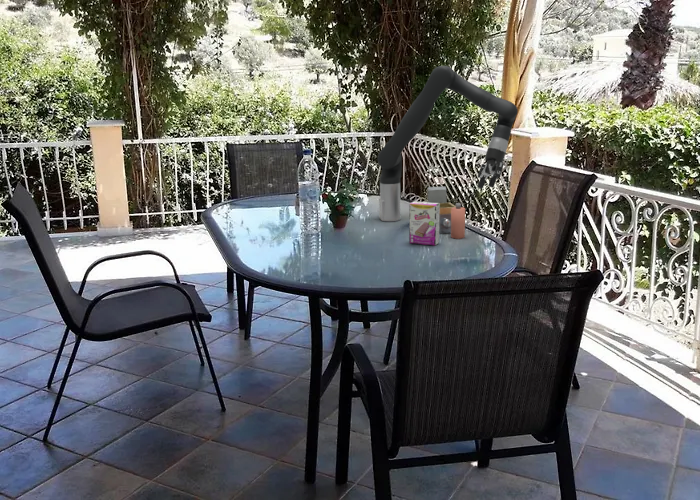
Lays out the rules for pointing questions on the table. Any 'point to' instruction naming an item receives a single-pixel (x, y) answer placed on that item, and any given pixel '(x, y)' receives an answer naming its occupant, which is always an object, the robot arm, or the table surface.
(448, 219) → the grey tan open box
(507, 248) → the table surface
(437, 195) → the skincare box
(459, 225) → the oil can
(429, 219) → the candy bar box
